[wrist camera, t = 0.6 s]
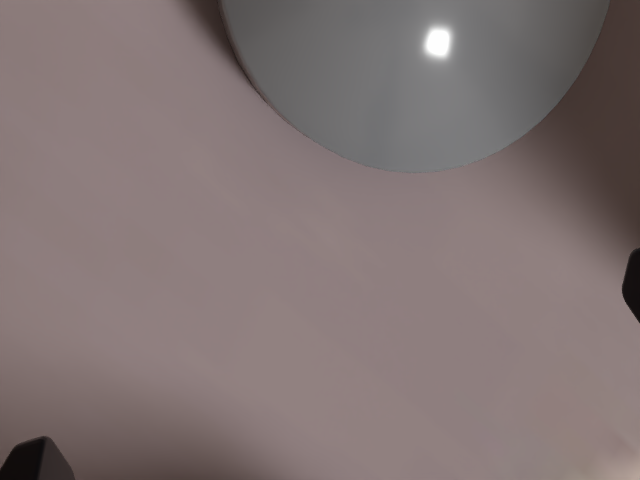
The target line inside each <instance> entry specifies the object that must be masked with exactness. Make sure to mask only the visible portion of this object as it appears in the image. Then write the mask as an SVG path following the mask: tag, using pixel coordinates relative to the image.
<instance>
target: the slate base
mask: <svg viewBox="0 0 640 480" xmlns="http://www.w3.org/2000/svg"><path fill="white" fill-rule="evenodd" d="M609 3H610V0H218V6H219V11H220V15H221V18H222V21H223V24H224V28H225V31H226V34H227V37H228V40H229V42H230V44H231V47H232V49H233V51H234V53H235V55H236V58H237V60H238V62H239V64H240V66H241V67H242V69H243V71H244V72H245V74H246V75H247V77H248V79H249V80H250V82H251V84H252V85H253V86H254V88H255V89H256V90H257V91H258V93H259V94H260V95H261V96H262V98H263V99H264V100H265V102H266V103H267V104H268V105H269V106H270V107H271V108H272V109H273V110H274V111H275V112H276V113H277V114H278V115H279V116H280V117H281V118H282V119H283V120H284V121H286V122H287V123H288V124H290V125H291V126H292V127H294V128H295V129H296V130H298V131H299V132H300V133H302V134H303V135H305V136H306V137H308V138H310V139H311V140H313V141H314V142H316V143H318V144H319V145H321V146H323V147H325V148H327V149H328V150H330V151H332V152H334V153H336V154H338V155H340V156H341V157H343V158H346V159H349V160H351V161H354V162H357V163H359V164H362V165H365V166H368V167H373V168H377V169H382V170H386V171H394V172H406V173H422V172H437V171H442V170H447V169H452V168H457V167H461V166H464V165H467V164H470V163H473V162H476V161H479V160H482V159H484V158H486V157H488V156H490V155H492V154H494V153H496V152H498V151H500V150H502V149H504V148H505V147H507V146H509V145H510V144H512V143H513V142H515V141H516V140H518V139H519V138H521V137H522V136H524V135H525V134H526V133H527V132H528V131H530V130H531V129H532V128H533V127H534V126H536V125H537V124H538V123H539V122H540V121H542V120H543V119H544V118H545V116H546V115H547V114H548V113H549V112H550V111H551V110H552V109H553V108H554V107H555V106H556V105H557V104H558V103H559V102H560V100H561V99H562V98H563V96H564V95H565V94H566V92H567V91H568V90H569V88H570V87H571V86H572V84H573V83H574V82H575V80H576V79H577V77H578V75H579V73H580V72H581V70H582V68H583V67H584V65H585V63H586V62H587V60H588V58H589V56H590V54H591V52H592V50H593V47H594V45H595V43H596V41H597V39H598V37H599V34H600V31H601V29H602V26H603V23H604V20H605V17H606V14H607V11H608V8H609Z"/></svg>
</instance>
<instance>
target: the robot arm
mask: <svg viewBox="0 0 640 480" xmlns="http://www.w3.org/2000/svg"><path fill="white" fill-rule="evenodd" d="M622 294H623V298H624V300H625V302H626V304H627V305H628V307H629V308H630V310H631V311H632V313H633V314H634V316H635V317H636V319H637V320H638V322H639V323H640V248H638V249H635V250H634V251H633V252H632V253H631V254H630V256H629V260H628V264H627V268H626V272H625V276H624V280H623V284H622ZM0 480H75V477H74V474H73V471H72V469H71V467H70V465H69V464H68V462H67V461H66V459H65V458H64V456H63V455H62V454H61V452H60V451H59V449H58V448H57V446H56V445H55V443H54V442H53V441H52V439H51V438H49V437H47V436H41V437H38V438H35V439H31V440H28V441H25V442H22V443H19V444H18V445H16V446H15V447H14V448H13V449H12V451H11V452H10V454H9V455H8V457H7V459H6V460H5V462H4V464H3V465H2V467H1V469H0Z"/></svg>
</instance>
